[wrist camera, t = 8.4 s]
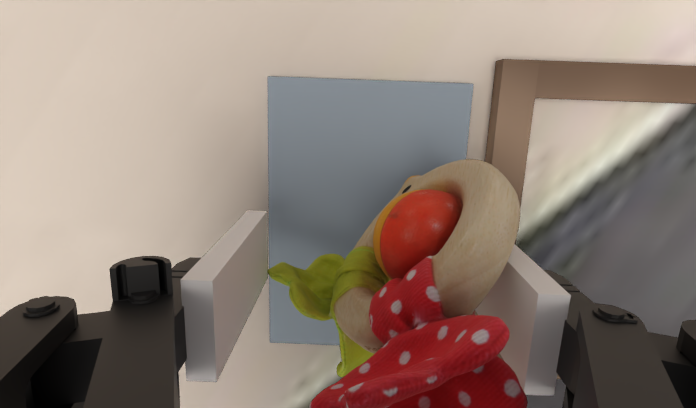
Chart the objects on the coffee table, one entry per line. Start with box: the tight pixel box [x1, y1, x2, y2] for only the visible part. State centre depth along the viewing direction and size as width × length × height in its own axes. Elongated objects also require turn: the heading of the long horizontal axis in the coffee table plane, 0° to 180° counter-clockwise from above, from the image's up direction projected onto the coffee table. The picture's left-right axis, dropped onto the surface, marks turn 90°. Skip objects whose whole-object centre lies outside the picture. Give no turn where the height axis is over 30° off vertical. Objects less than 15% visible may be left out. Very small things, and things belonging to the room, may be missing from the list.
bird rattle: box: [268, 159, 528, 408], centre depth 14 cm, size 6×11×9 cm
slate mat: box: [268, 76, 473, 345], centre depth 21 cm, size 13×9×1 cm
